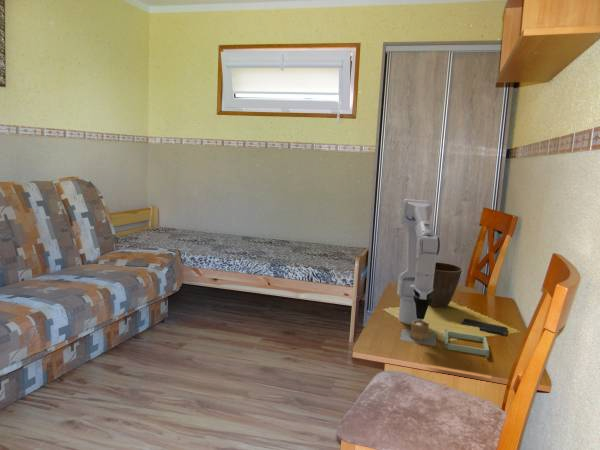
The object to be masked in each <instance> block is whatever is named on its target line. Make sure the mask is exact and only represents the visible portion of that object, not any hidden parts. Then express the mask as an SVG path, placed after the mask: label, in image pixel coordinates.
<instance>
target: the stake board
mask: <svg viewBox="0 0 600 450" xmlns="http://www.w3.org/2000/svg"><path fill="white" fill-rule="evenodd" d="M416 324H417V325H422V326H423V325H424V324H423V323H416ZM410 331H411V329H406V328H402V330H401V334H400V338H399V341H402V342H408V343H412V344H413V343H415V344H419V345H426V346H432V347H437V334H436V333H431V332H428V336H427V340H422V341H421V340H415V339H413V338H411V337H410Z"/></svg>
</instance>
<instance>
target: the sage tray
mask: <svg viewBox="0 0 600 450" xmlns="http://www.w3.org/2000/svg"><path fill="white" fill-rule="evenodd" d="M449 337H450V338H456V339H463V340H467V341H469V340H470V341H474V342H475V341H476V342H480V343H482V345H483V348H479V347H474V346H468V345H462V344H461V345H460V344H456V343H449ZM444 350H451V351H455V352H461V353H462V352H463V353H467V354H472V355H480V356H484V357H485V358H486V359H489V356H490V348H489V344H488V341H487V337H486V336H484V335H479V334H478V335H477V334H471V333H464V332H459V331H453V330H446V329H445V330H444Z"/></svg>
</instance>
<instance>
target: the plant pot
mask: <svg viewBox="0 0 600 450" xmlns="http://www.w3.org/2000/svg"><path fill="white" fill-rule="evenodd" d="M462 272H463V269H462V267H460V266H458V265H454V264H451V263H446V262H437V261H436V264H435V273H434V281H433V291H432V292H431V294H430V295H429V297H428V298H429V299H432V302H431V303H430V305H429V306H431V307H434V308H437V309H439V308H440V309H446V308H448V306H449V305H450V303H451V300H452V299H453V297H454V294H455V293H456V290H457V287H458V285H459V283H460V278H461V275H462Z"/></svg>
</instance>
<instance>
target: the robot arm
mask: <svg viewBox="0 0 600 450" xmlns="http://www.w3.org/2000/svg"><path fill="white" fill-rule="evenodd" d="M432 213H433V203H432V201H431V200H424V199H423V200H422V199H410V198H404V199H403V201H402V205H401V223H402V224H403V225H404V226H406V269H405V271H403V272H402V273H400V274H399V275H398V278H397V285H396V292H397V293H396V294H397V296H398V297H399V298H400V301H399V309H398V310H399V311H398V317H397V318H398V321H399V322H400V323H402V324H406V325H411V322H412V321H415V320H418V321H420V320H424V319H425V317H426V313H427V310H428V308H429V306H431V305H430V303H431V302H432V299H429V298H428V297H429V295H430V294H431V292H432V291H433V281H434V273H435V264H436V262H437V256H439V254H440V250H441V239H440V236H438V234H437V235H436V233H435V230H434V226H433V224H432V223H431V222H429V221H430V218H431V216H432Z"/></svg>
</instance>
